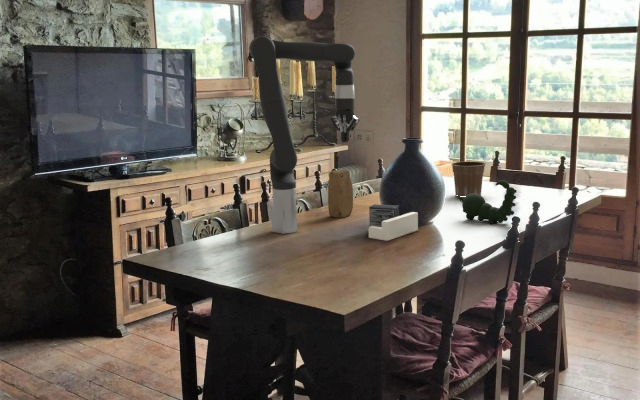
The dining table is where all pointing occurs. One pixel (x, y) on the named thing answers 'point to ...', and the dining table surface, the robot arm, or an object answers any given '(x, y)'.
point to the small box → (382, 213)
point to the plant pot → (468, 177)
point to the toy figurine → (489, 206)
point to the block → (340, 193)
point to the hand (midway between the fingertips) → (345, 141)
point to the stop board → (395, 227)
